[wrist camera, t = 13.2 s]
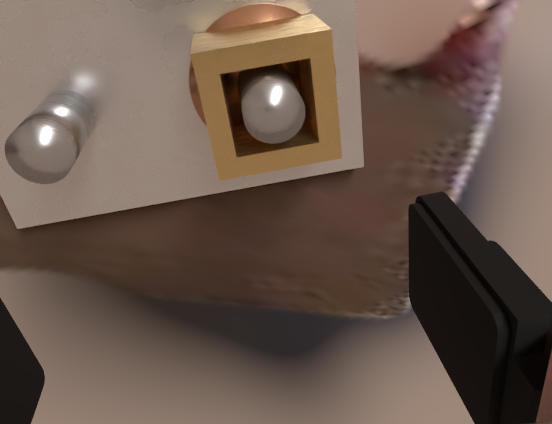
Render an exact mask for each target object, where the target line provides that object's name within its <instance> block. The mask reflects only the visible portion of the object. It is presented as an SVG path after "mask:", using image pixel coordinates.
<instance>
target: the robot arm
mask: <svg viewBox="0 0 552 424" xmlns="http://www.w3.org/2000/svg"><path fill="white" fill-rule="evenodd" d="M409 297H410V302H411V305H412V308H413V310H414V312H415V314H416V315H417V317H418V319H419V321H420V323H421V325H422V327H423V329H424V330H425V332H426V334H427V336H428V338H429V340H430V342H431V343H432V345H433V347H434V349H435V351H436V352H437V354H438V356H439V358H440V360H441V362H442V364H443V366H444V368H445V369H446V371H447V373H448V375H449V377H450V379H451V381H452V382H453V384H454V386H455V388H456V390H457V392H458V393H459V395H460V397H461V399H462V401H463V403H464V405H465V406H466V408H467V410H468V412H469V414H470V416H471V418H472V419H473V421H474V423H475V424H552V302H551V301H550V300H549V299H548V298H547V297H546V296H545V295H544V293H542V291H541V290H540V289H539V288H538V287H537V286H536V285H535V284H534V282H532V280H531V279H530V278H529V277H528V276H527V275H526V274H525V273H524V272H523V270H521V268H520V267H519V266H518V265H517V264H516V263H515V262H514V261H513V259H512V258H511V257H510V256H509V255H508V254H507V253H506V252H505V251H504V250H503V249H502V247H501V246H500V245H498V244H497V243H496V242H494V241H487V240H486V239H485V237H484V236H483V235H482V234H481V233H480V232H479V231H478V230H477V228H475V226H474V225H473V224H472V223H471V222H470V220H469V219H468V218H467V217H466V216H465V215H464V214H463V213H462V211H461V210H460V209H459V208H458V207H457V206H456V205H455V203H454V202H453V201H452V200H451V199H450V198H449V197H448V196H447V194H446V193H444V192H437V193H432V194H427V195H422V196H418V197H417V198H416V203H414V204H410V205H409ZM44 381H45V377H44V371H43V369H42V367H41V365H40V363H39V362H38V360H37V358H36V357H35V355H34V354H33V352H32V350H31V349H30V347H29V345H28V343H27V342H26V340H25V338H24V337H23V335H22V333H21V332H20V330H19V328H18V327H17V325H16V323H15V322H14V320H13V318H12V317H11V315H10V313H9V312H8V310H7V308H6V307H5V305H4V303H3V302H2V300H1V298H0V424H31V421H32V418H33V416H34V413H35V409H36V407H37V404H38V401H39V398H40V395H41V392H42V389H43V386H44Z"/></svg>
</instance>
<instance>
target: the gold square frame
mask: <svg viewBox="0 0 552 424" xmlns="http://www.w3.org/2000/svg"><path fill="white" fill-rule="evenodd" d="M190 55H191V60H192V64H193V68H194V73H195V77H196V81H197V86H198V90H199V94H200V99H201V103H202V107H203V112H204V116H205V120H206V125H207V129H208V133H209V138H210V142H211V146H212V151H213V155H214V159H215V164H216V168H217V172H218V177H219V181H221V180H227V179H232V178H238V177H243V176H249V175H254V174H259V173H265V172H270V171H276V170H281V169H287V168H292V167H298V166H303V165H308V164H314V163H319V162H325V161H330V160H336V159H341V158H342V150H341V137H340V125H339V113H338V101H337V88H336V76H335V64H334V52H333V39H332V29H331V28H330V27H329V26H327V25H326V24H325V23H324V22H323V21H322V20H320V19H319V18H318V17H317V16H316V15H314V14H307V15H301V16H295V17H290V18H284V19H278V20H273V21H267V22H261V23H256V24H250V25H244V26H238V27H233V28H227V29H221V30H216V31H210V32H204V33H198V34H193V39H192V45H191V52H190ZM297 60H298V66H299V74H300V83H301V91H302V100H303V102H304V105H305V119H304V122H303V125H302V127H301V129H300V130H299V131H298V133H297V134H296V135H295V136H293V137H292V138H291V139H289V140H287V141H285V142H282V143H276V144H270V143H264V142H261V141H259V140H257V139H256V138H254V137H253V136H252V135H251V134H250V133H249V132H248V130H247V128H246V127H245V124H239V125H233V123H232V118H231V113H230V109H229V104H228V99H227V94H226V89H225V84H224V79H223V74H224V73H229V72H235V71H240V70H246V69H252V68H257V67H263V66H268V65H274V64H280V63H285V62H291V61H297Z"/></svg>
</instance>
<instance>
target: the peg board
mask: <svg viewBox="0 0 552 424" xmlns="http://www.w3.org/2000/svg"><path fill="white" fill-rule="evenodd" d="M355 4H356V2H355V0H0V195H1V197H2V199H3V201H4V203H5V205H6V207H7V209H8V211H9V213H10V215H11V217H12V219H13V221H14V223H15V225H16V227H17V229H21V228H26V227H32V226H37V225H43V224H48V223H54V222H60V221H65V220H71V219H76V218H82V217H87V216H93V215H98V214H104V213H110V212H115V211H121V210H126V209H132V208H137V207H143V206H149V205H154V204H160V203H165V202H171V201H176V200H182V199H187V198H193V197H199V196H204V195H210V194H215V193H221V192H226V191H232V190H238V189H243V188H249V187H254V186H260V185H265V184H271V183H276V182H282V181H288V180H293V179H299V178H304V177H310V176H315V175H321V174H326V173H332V172H338V171H343V170H349V169H354V168H360V167H364V159H363V139H362V120H361V100H360V81H359V61H358V42H357V22H356V5H355ZM307 14H314V15H316V16H317V17H318V18H319V19H320V20H322V21H323V22H324V23H325V24H326V25H327V26H329V27H330V28H331V29H332V39H333V52H334V64H335V76H336V88H337V101H338V113H339V125H340V137H341V150H342V158H341V159H336V160H330V161H325V162H319V163H314V164H308V165H303V166H298V167H292V168H287V169H281V170H276V171H270V172H265V173H259V174H254V175H249V176H243V177H238V178H232V179H227V180H221V181H219V177H218V172H217V168H216V164H215V159H214V155H213V151H212V146H211V142H210V138H209V133H208V129H207V125H206V120H205V116H204V112H203V107H202V103H201V99H200V94H199V90H198V86H197V81H196V77H195V73H194V68H193V64H192V60H191V55H190V52H191V45H192V39H193V34H198V33H204V32H210V31H216V30H221V29H227V28H233V27H238V26H244V25H250V24H256V23H261V22H267V21H273V20H278V19H284V18H290V17H295V16H301V15H307ZM223 79H224V84H225V89H226V94H227V99H228V104H229V109H230V113H231V118H232V123H233V125H239V124H245V127H246V128H247V130H248V132H249V133H250V134H251V135H252V136H253V137H254V138H256V139H257V140H259V141H261V142H264V143H270V144H276V143H282V142H285V141H287V140H289V139H291V138H292V137H293V136H295V135H296V134H297V133H298V131H299V130H300V129H301V127H302V125H303V122H304V119H305V105H304V102H303V100H302V91H301V83H300V74H299V66H298V60H297V61H291V62H285V63H280V64H274V65H268V66H263V67H257V68H252V69H246V70H240V71H235V72H229V73H224V74H223Z"/></svg>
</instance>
